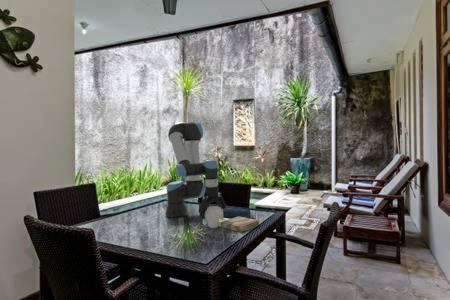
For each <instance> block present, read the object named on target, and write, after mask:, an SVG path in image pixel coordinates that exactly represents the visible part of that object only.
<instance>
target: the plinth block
mask: <svg viewBox="0 0 450 300" xmlns="http://www.w3.org/2000/svg"><path fill="white" fill-rule="evenodd" d="M228 219H229V220H225V221H222V222H220V228H223V229H228V230H232V231H236V232H239V233H242V232H244V231H245V232H246V231H248V230H251V229H254V228H257V227H259V226H260V220H259V219H253V218H248V217H243V216H235V217H232V218H228ZM258 225H259V226H258ZM253 227H254V228H253Z"/></svg>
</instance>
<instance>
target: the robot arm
mask: <svg viewBox="0 0 450 300" xmlns="http://www.w3.org/2000/svg"><path fill="white" fill-rule="evenodd" d="M167 138H168V141H169V142H170V143H171V146H172V149H173V152H174V155H175V156H174V157H175V159H176V160H175V161H176V163H177V164H176V166H175V174H176V176H177V177H180V178H181V177H182V178H183V177H187V178H186V179H185V182H184V180H176V181H172V182H169V183H168V184H167V185H166V199H167V204H166V210H165V214H164V215H165V218H169V217H170V219H171V218H172V219H175V218H176V217H177V218H183V217H186V216H188V210H187V207H186V204H185V200H189V199H191V200H192V199H199V198H200V199H201V202H200V205H199V209H198V214H201V220H202V225H204V226H208V222H207V217H206V210H207V208H208V207H210V205H211V204H212V203H214V202H215V204H217V207H221V212H220V220H224V218H225V217H224V213H225V209H226V207H227V205H226V202H225V199H224V197H223V193H222V192H219V178H218V177H219V173H218V170H219V168H218V167H219V166H218V160H216V159H206V160H204V162H200V147H199V146H200V144H199V143H200V142H201V139H203V138H204V129H203V126H202V124H201V123H200V122H198V121H197V122H196V121H190V122H189V121H185V122H183V121H180V122H176V123H174V124H173V125H171V126H170V128H169V130H168V133H167ZM185 144H186V146H185ZM201 176H204V177H205V178H204V180H203V178H202V177H201ZM205 194H206V195H205ZM177 218H176V219H177Z"/></svg>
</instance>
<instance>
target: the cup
mask: <svg viewBox="0 0 450 300" xmlns="http://www.w3.org/2000/svg"><path fill="white" fill-rule="evenodd" d="M220 212H221V207H219V206H208V208H207V210H206V212H205V213H206V217H207V226H208V227H209V228H210V229H216V228H218V227H220V222H219V219H220Z"/></svg>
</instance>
